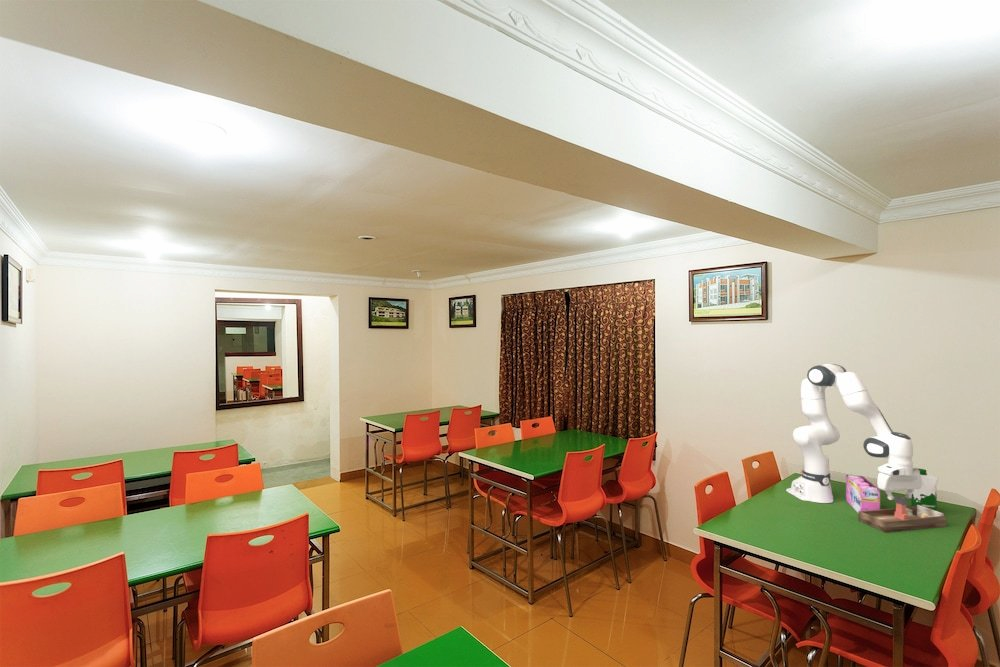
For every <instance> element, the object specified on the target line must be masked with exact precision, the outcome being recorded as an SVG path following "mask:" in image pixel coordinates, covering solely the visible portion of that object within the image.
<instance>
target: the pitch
mask: <svg viewBox="0 0 1000 667" xmlns="http://www.w3.org/2000/svg"><path fill="white" fill-rule="evenodd" d="M895 511H896V507H894V508H893V507H891V508H880V510H869V511H858V512H857V514H858V518H857V519H858V522H860V523H862V524H864V525H866V524H867V525H866V526H869V527H871V528H874V529H876V530H878V531H881V532H883V533H895V532H905V531H913V530H914V531H916V530H917V531H918V530H925V529H937V528H946V527H947V516H945V514H944V513H943V512H940V511H938V510H937V511H935V510H932V509H929V508H926V507H923V506H920V505H917V506H914V507H911V506H906V514H907V515H908V519H905V520H901V519H898V518H895ZM923 513H926V514H928V515H929V516H928V515H924V518H921V517H920V515H921V514H923Z"/></svg>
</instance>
